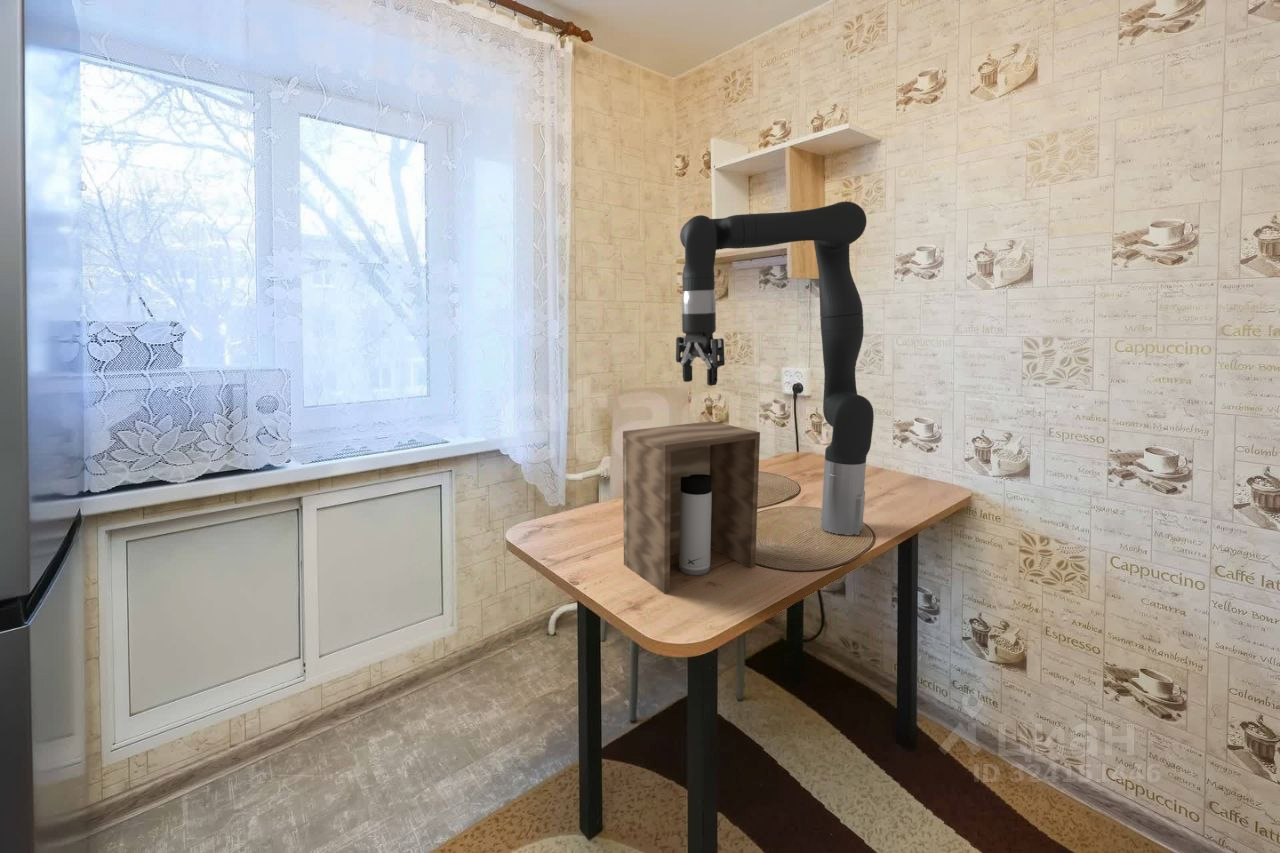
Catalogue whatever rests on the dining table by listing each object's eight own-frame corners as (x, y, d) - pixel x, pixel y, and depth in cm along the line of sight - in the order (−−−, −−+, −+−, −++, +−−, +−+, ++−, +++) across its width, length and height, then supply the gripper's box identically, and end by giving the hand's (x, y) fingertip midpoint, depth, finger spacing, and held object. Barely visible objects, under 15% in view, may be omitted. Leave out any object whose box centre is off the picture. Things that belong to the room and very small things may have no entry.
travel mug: (694, 579, 110) (696, 480, 106) (672, 567, 115) (673, 473, 112) (717, 571, 114) (720, 475, 110) (695, 560, 119) (697, 468, 115)
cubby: (755, 566, 116) (760, 432, 111) (664, 593, 104) (665, 444, 99) (709, 542, 128) (711, 421, 123) (623, 564, 117) (622, 431, 112)
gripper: (733, 310, 122) (733, 384, 126) (691, 310, 134) (692, 378, 137) (707, 312, 118) (707, 388, 122) (666, 312, 130) (667, 382, 133)
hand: (699, 383), depth 129 cm, fingers open, 8 cm apart
